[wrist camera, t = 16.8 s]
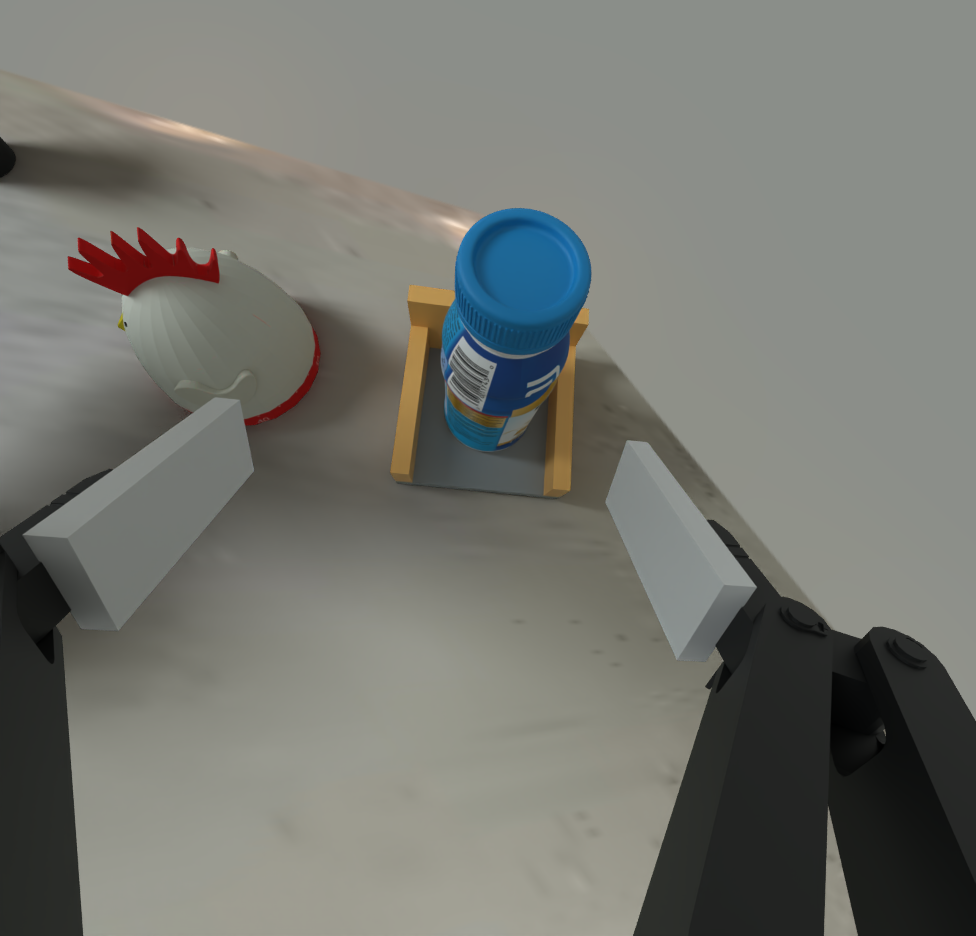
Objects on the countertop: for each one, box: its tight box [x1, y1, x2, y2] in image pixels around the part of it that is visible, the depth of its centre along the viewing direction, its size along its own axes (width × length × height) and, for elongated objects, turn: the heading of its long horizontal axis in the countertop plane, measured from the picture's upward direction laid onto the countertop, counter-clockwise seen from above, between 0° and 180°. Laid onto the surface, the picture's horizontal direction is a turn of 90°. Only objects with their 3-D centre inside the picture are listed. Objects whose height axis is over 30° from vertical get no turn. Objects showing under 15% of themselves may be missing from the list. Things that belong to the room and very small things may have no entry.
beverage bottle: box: [441, 208, 591, 452], centre depth 29 cm, size 8×8×20 cm
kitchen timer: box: [68, 227, 320, 426], centre depth 32 cm, size 14×14×15 cm
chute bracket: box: [390, 285, 589, 499], centre depth 36 cm, size 15×15×8 cm
